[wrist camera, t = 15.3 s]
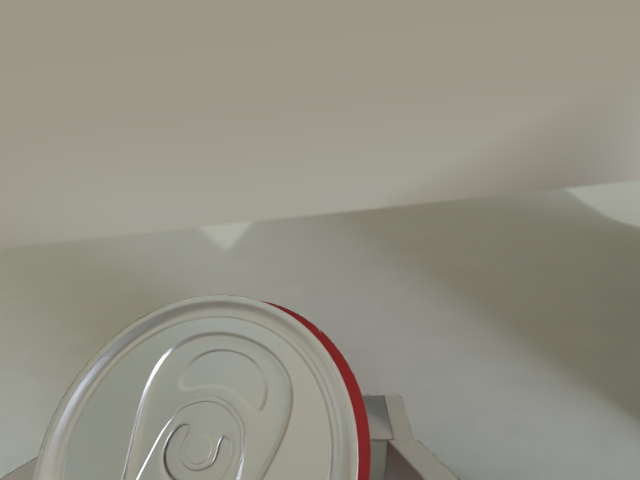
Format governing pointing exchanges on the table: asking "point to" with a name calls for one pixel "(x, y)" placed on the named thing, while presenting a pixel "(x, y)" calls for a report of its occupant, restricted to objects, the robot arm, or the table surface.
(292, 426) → the soda can
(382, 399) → the robot arm
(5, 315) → the table surface
